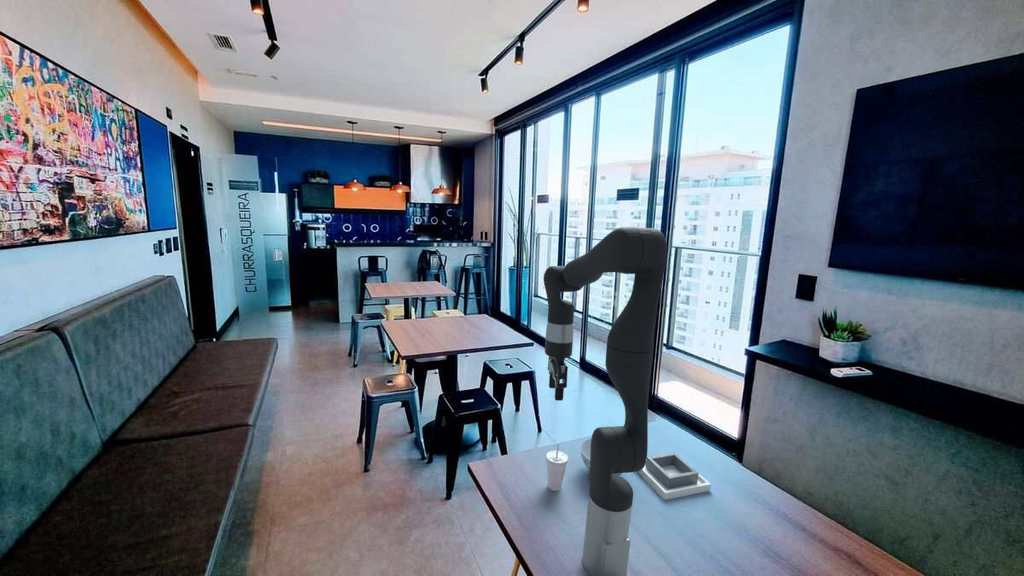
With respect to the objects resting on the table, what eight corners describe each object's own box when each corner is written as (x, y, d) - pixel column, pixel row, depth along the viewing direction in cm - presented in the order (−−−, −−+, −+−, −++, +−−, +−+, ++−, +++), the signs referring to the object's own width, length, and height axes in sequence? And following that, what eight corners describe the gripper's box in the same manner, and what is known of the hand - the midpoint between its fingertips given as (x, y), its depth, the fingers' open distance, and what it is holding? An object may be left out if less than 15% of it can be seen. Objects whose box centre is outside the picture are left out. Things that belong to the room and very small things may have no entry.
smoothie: (541, 490, 115) (544, 445, 112) (546, 477, 121) (549, 434, 118) (563, 497, 113) (567, 451, 110) (567, 482, 119) (571, 439, 116)
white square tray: (710, 490, 118) (712, 476, 118) (664, 500, 114) (666, 485, 113) (675, 460, 132) (677, 447, 132) (633, 467, 128) (634, 454, 127)
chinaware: (624, 461, 130) (626, 439, 129) (632, 493, 116) (635, 469, 114) (577, 456, 132) (579, 435, 130) (579, 487, 117) (582, 463, 116)
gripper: (579, 345, 105) (574, 404, 108) (566, 331, 119) (563, 384, 122) (550, 345, 105) (547, 404, 107) (541, 331, 119) (538, 383, 121)
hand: (555, 393), depth 114 cm, fingers open, 8 cm apart
